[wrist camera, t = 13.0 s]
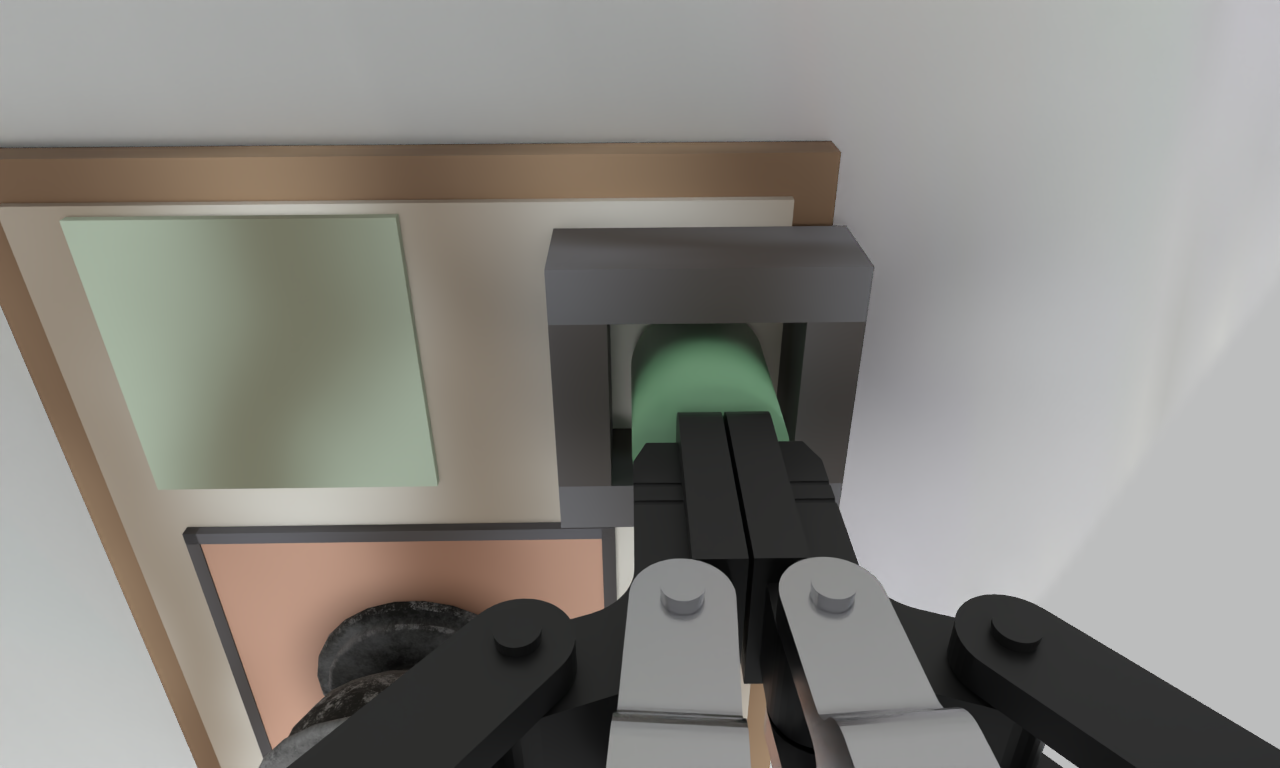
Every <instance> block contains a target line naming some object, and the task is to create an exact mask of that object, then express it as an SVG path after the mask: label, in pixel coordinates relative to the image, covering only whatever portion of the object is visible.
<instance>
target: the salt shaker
mask: <svg viewBox="0 0 1280 768" xmlns="http://www.w3.org/2000/svg"><path fill="white" fill-rule="evenodd" d="M476 616H477V614H475V613H472V612H469V611H466V610H464V609H461V608H458V607H455V606H452V605H446V604H439V603H433V602H427V601H406V602H392V603H387V604H383V605H379V606H375V607H371V608H367V609H365V610H363V611H361V612H359V613H357V614H355V615H353V616H351V617H349V618H347V619H345V620H344V621H343V622H342V623H341V624H340V625H339V626H338V627H337V628H336V629H335V630H334V631H333V632H331V633H330V634H329V636H328V638H327V640H326V642H325V644H324V646H323V648H322V650H321V652H320V654H319V657H318V673H317V676H318V679H319V683H320V686H321V689H322V692H323V695H324V696H325V697H323V698H322V699H321V700H320V701H319V702H318V703H317V704H316V705H315V706H314V707H313V708H312V709H311V710H310V711H309V712H308V713H307V714H306V715H305V716H304V717H303V718H302V719H301V720H300V721H299V722H298V723H297V724H296V725H295V726H294V727H293V728H292V730H291V732H290V734H289V736H288V737H287V738H285V739H284V740H282V741H281V742H280V743H279V744H278V745H277V746H276V747H275V748H273V749H272V750H271V751H270V752H269V753H268V754H267V755H266V756H265V757H264V758H263V760H262V762H261V764H260V766H259V768H287V767H288V766H289V765H290V764H292V763H293V762H294V761H295V760H297V759H298V758H299V757H300V756H302V755H303V754H304V753H305V752H307V751H308V750H309V749H311V748H312V747H313V746H314V745H316V744H317V743H318V742H319V741H321V740H322V739H323V738H324V737H326V736H327V735H328V734H329V733H331V732H332V731H333V730H334V729H336V728H337V727H338V726H339V725H341V724H342V723H343V722H344V721H346V720H347V719H348V718H349V717H351V716H352V715H353V714H354V713H356V712H357V711H358V710H359V709H361V708H362V707H363V706H364V705H366V704H367V703H368V702H369V701H371V700H372V699H373V698H374V697H376V696H377V695H378V694H379V693H381V692H382V691H383V690H385V689H386V688H387V687H388V686H390V685H391V684H392V683H393V682H395V681H396V680H397V679H398V678H400V677H401V676H402V675H403V674H405V673H406V672H407V671H408V670H410V669H411V668H412V667H413V666H415V665H416V664H417V663H418V662H420V661H421V660H422V659H423V658H425V657H426V656H427V655H428V654H430V653H431V652H432V651H433V650H435V649H436V648H437V647H438V646H440V645H441V644H442V643H443V642H445V641H446V640H447V639H448V638H450V637H451V636H452V635H453V634H455V633H456V632H457V631H459V630H460V629H461V628H462V627H464V626H465V625H466V624H467V623H469V622H470V621H471V620H472V619H474V618H475V617H476Z"/></svg>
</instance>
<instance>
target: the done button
mask: <svg viewBox="0 0 1280 768" xmlns="http://www.w3.org/2000/svg"><path fill="white" fill-rule="evenodd" d="M631 405H632V460H633V461H634V460H635V458H636V457H637V455H638V454H639V452H640V451H641V449H642V448H643V446H644V445H645V444H646V443H676V418H677V412H721V413H722V416H723V415H724V412H739V411H769V412H770V414H771V417H772V421H773V424H774V428H775V432H776V435H777V439H778V441H789V436H788V432H787V429H786V426H785V423H784V419H783V416H782V413H781V410H780V406H779V403H778V400H777V397H776V393H775V390H774V387H773V384H772V380H771V377H770V374H769V371H768V367H767V364H766V361H765V358H764V354H763V351H762V348H761V345H760V342H759V340H758V338H757V336H756V335H755V333H754V332H753V330H752V329H751V328H750V327H749V326H748V325H747V324H746V323H706V324H651V325H650V326H649V327H648V328H647V329H646V330H645V331H644V333H643V334H642V335H641V337H640V338H639V340H638V342H637V344H636V346H635V349H634V351H633V355H632V360H631Z"/></svg>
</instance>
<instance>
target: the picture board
mask: <svg viewBox="0 0 1280 768" xmlns="http://www.w3.org/2000/svg"><path fill="white" fill-rule="evenodd" d="M840 157H841V152H840V151H839V149H838V148H837V147H836V146H835V145H834V144H833V143H832V141H801V142H679V143H557V144H434V145H312V146H189V147H67V148H0V305H1V308H2V310H3V312H4V315H5V317H6V319H7V322H8V324H9V326H10V329H11V331H12V333H13V336H14V338H15V340H16V343H17V345H18V347H19V350H20V352H21V354H22V357H23V359H24V362H25V364H26V366H27V369H28V371H29V373H30V376H31V378H32V380H33V383H34V385H35V387H36V390H37V392H38V394H39V397H40V399H41V401H42V404H43V406H44V408H45V411H46V413H47V415H48V418H49V420H50V422H51V425H52V427H53V430H54V432H55V434H56V437H57V439H58V441H59V444H60V446H61V448H62V451H63V453H64V455H65V458H66V460H67V462H68V465H69V467H70V469H71V472H72V474H73V476H74V479H75V481H76V483H77V486H78V488H79V490H80V493H81V495H82V498H83V500H84V502H85V505H86V507H87V509H88V512H89V514H90V516H91V519H92V521H93V523H94V526H95V528H96V530H97V533H98V535H99V537H100V540H101V542H102V544H103V547H104V549H105V551H106V554H107V556H108V558H109V561H110V563H111V566H112V568H113V570H114V573H115V575H116V577H117V580H118V582H119V584H120V587H121V589H122V591H123V594H124V596H125V598H126V601H127V603H128V605H129V608H130V610H131V612H132V615H133V617H134V619H135V622H136V624H137V626H138V629H139V631H140V634H141V636H142V638H143V641H144V643H145V645H146V648H147V650H148V652H149V655H150V657H151V659H152V662H153V664H154V666H155V669H156V671H157V673H158V676H159V678H160V680H161V683H162V685H163V687H164V690H165V692H166V694H167V697H168V699H169V702H170V704H171V706H172V709H173V711H174V713H175V716H176V718H177V720H178V723H179V725H180V727H181V730H182V732H183V734H184V737H185V739H186V741H187V744H188V746H189V748H190V751H191V753H192V755H193V758H194V760H195V762H196V765H197V767H198V768H259V766H260V764H261V762H262V760H263V758H264V757H265V756H266V755H267V754H268V753H269V752H270V751H271V750H272V749H273V748H275V747H276V746H277V745H278V744H279V743H280V742H281V741H282V740H284V739H285V738H287V737H288V736H289V734H290V732H291V730H292V728H293V727H294V726H295V725H296V724H297V723H298V722H299V721H300V720H301V719H302V718H303V717H304V716H305V715H306V714H307V713H308V712H309V711H310V710H311V709H312V708H313V707H314V706H315V705H316V704H317V703H318V702H319V701H320V700H321V699H322V698H323V697H325V696H324V695H323V692H322V689H321V686H320V683H319V679H318V676H317V673H318V657H319V654H320V652H321V650H322V648H323V646H324V644H325V642H326V640H327V638H328V636H329V634H330V633H331V632H333V631H334V630H335V629H336V628H337V627H338V626H339V625H340V624H341V623H342V622H343V621H344V620H345V619H347V618H349V617H351V616H353V615H355V614H357V613H359V612H361V611H363V610H365V609H367V608H371V607H375V606H379V605H383V604H387V603H392V602H406V601H427V602H433V603H439V604H446V605H452V606H455V607H458V608H461V609H464V610H466V611H469V612H472V613H475V614H477V615H479V614H480V613H481V612H483V611H484V610H486V609H487V608H489V607H491V606H493V605H496V604H498V603H501V602H504V601H508V600H513V599H537V600H542V601H545V602H549V603H551V604H553V605H555V606H557V607H558V608H560V609H561V610H562V611H564V612H565V613H566V614H567V616H568V617H569V618H570V619H573V618H577V617H580V616H584V615H587V614H591V613H594V612H597V611H600V610H602V609H604V608H606V607H608V606H609V605H611V604H612V603H614V602H616V601H617V600H618V599H619V598H620V597H621V596H622V595H623V594H624V593H625V592H626V591H627V589H628V588H629V586H630V584H631V582H632V579H633V576H634V492H633V460H632V405H631V360H632V355H633V351H634V349H635V346H636V344H637V342H638V340H639V338H640V337H641V335H642V334H643V333H644V331H645V330H646V329H647V328H648V327H649V326H650V325H651V324H706V323H746V324H747V325H748V326H749V327H750V328H751V329H752V330H753V332H754V333H755V335H756V336H757V338H758V340H759V342H760V345H761V348H762V351H763V354H764V358H765V361H766V364H767V367H768V371H769V374H770V377H771V380H772V384H773V387H774V390H775V393H776V397H777V400H778V403H779V406H780V410H781V413H782V416H783V419H784V423H785V426H786V429H787V432H788V436H789V441H803V442H804V443H805V444H806V445H807V446H808V447H809V448H810V449H811V450H812V451H813V452H814V453H815V454H817V455H818V456H819V457H820V458H821V459H822V462H823V464H824V467H825V470H826V473H827V476H828V479H829V485H831V487H832V490H833V493H834V496H835V503H837V504H838V507H839V504H840V497H841V490H842V483H843V476H844V470H845V463H846V456H847V449H848V442H849V435H850V428H851V422H852V415H853V408H854V401H855V394H856V387H857V381H858V374H859V367H860V360H861V353H862V346H863V339H864V333H865V326H866V319H867V312H868V305H869V298H870V292H871V285H872V278H873V271H874V266H873V264H872V263H871V261H870V260H869V258H868V257H867V256H866V254H865V253H864V251H863V250H862V248H861V247H860V245H859V244H858V242H857V241H856V240H855V238H854V237H853V235H852V234H851V232H850V231H849V229H848V228H847V226H833V217H834V208H835V200H836V191H837V182H838V174H839V165H840ZM740 676H741V695H742V712H743V718H746V719H747V722H748V730H749V743H750V760H751V768H770V755H769V751H768V747H767V743H766V740H765V735H764V720H765V711H766V698H765V693H764V687H763V684H744V682H743V675H742V668H741V664H740Z"/></svg>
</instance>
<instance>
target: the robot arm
mask: <svg viewBox="0 0 1280 768" xmlns="http://www.w3.org/2000/svg"><path fill="white" fill-rule="evenodd" d="M633 492H634V576H633V579H632V582H631V584H630V586H629V588H628V589H627V591H626V592H625V593H624V594H623V595H622V596H621V597H620V598H619V599H618V600H617V601H616V602H614V603H612V604H611V605H609V606H608V607H606V608H604V609H602V610H600V611H597V612H594V613H591V614H587V615H584V616H580V617H577V618H573V619H570V618H569V617H568V616H567V614H566V613H565V612H564V611H562V610H561V609H560V608H558V607H557V606H555V605H553V604H551V603H549V602H545V601H542V600H537V599H513V600H508V601H504V602H501V603H498V604H496V605H493V606H491V607H489V608H487V609H486V610H484V611H483V612H481V613H480V614H479V615H477V616H476V617H475V618H474V619H472V620H471V621H470V622H469V623H467V624H466V625H465V626H464V627H462V628H461V629H460V630H459V631H457V632H456V633H455V634H453V635H452V636H451V637H450V638H448V639H447V640H446V641H445V642H443V643H442V644H441V645H440V646H438V647H437V648H436V649H435V650H433V651H432V652H431V653H430V654H428V655H427V656H426V657H425V658H423V659H422V660H421V661H420V662H418V663H417V664H416V665H415V666H413V667H412V668H411V669H410V670H408V671H407V672H406V673H405V674H403V675H402V676H401V677H400V678H398V679H397V680H396V681H395V682H393V683H392V684H391V685H390V686H388V687H387V688H386V689H385V690H383V691H382V692H381V693H379V694H378V695H377V696H376V697H374V698H373V699H372V700H371V701H369V702H368V703H367V704H366V705H364V706H363V707H362V708H361V709H359V710H358V711H357V712H356V713H354V714H353V715H352V716H351V717H349V718H348V719H347V720H346V721H344V722H343V723H342V724H341V725H339V726H338V727H337V728H336V729H334V730H333V731H332V732H331V733H329V734H328V735H327V736H326V737H324V738H323V739H322V740H321V741H319V742H318V743H317V744H316V745H314V746H313V747H312V748H311V749H309V750H308V751H307V752H305V753H304V754H303V755H302V756H300V757H299V758H298V759H297V760H295V761H294V762H293V763H292V764H290V765H289V766H288V767H287V768H751V760H750V743H749V730H748V722H747V719H746V718H743V712H742V695H741V676H740V664H741V668H742V675H743V682H744V684H763V687H764V693H765V698H766V711H765V720H764V735H765V740H766V743H767V747H768V751H769V755H770V759H771V763H772V767H773V768H1063V767H1061V766H1060V765H1058V764H1057V763H1055V762H1054V761H1053V760H1051V759H1050V758H1048V757H1047V756H1046V755H1044V754H1043V753H1042V751H1043V748H1044V746H1045V744H1046V745H1048V746H1049V747H1050V748H1052V749H1053V750H1055V751H1056V752H1057V753H1059V754H1060V755H1062V756H1063V757H1065V758H1066V759H1067V760H1069V761H1070V762H1072V763H1073V764H1075V765H1076V766H1077V767H1079V768H1280V750H1279V749H1278V748H1276V747H1274V746H1273V745H1271V744H1269V743H1268V742H1266V741H1264V740H1263V739H1261V738H1259V737H1258V736H1256V735H1254V734H1253V733H1251V732H1249V731H1248V730H1246V729H1244V728H1243V727H1241V726H1239V725H1238V724H1236V723H1234V722H1232V721H1231V720H1229V719H1227V718H1226V717H1224V716H1222V715H1221V714H1219V713H1217V712H1216V711H1214V710H1212V709H1211V708H1209V707H1207V706H1206V705H1204V704H1202V703H1201V702H1199V701H1197V700H1196V699H1194V698H1192V697H1191V696H1189V695H1187V694H1186V693H1184V692H1182V691H1180V690H1179V689H1177V688H1175V687H1174V686H1172V685H1170V684H1169V683H1167V682H1165V681H1164V680H1162V679H1160V678H1159V677H1157V676H1155V675H1154V674H1152V673H1150V672H1149V671H1147V670H1145V669H1144V668H1142V667H1140V666H1139V665H1137V664H1135V663H1134V662H1132V661H1130V660H1129V659H1127V658H1125V657H1124V656H1122V655H1120V654H1119V653H1117V652H1115V651H1113V650H1112V649H1110V648H1108V647H1106V646H1105V645H1103V644H1102V643H1100V642H1098V641H1097V640H1095V639H1093V638H1092V637H1090V636H1088V635H1087V634H1085V633H1083V632H1082V631H1080V630H1078V629H1077V628H1075V627H1073V626H1071V625H1070V624H1068V623H1066V622H1065V621H1063V620H1061V619H1060V618H1058V617H1057V616H1055V615H1053V614H1051V613H1050V612H1048V611H1046V610H1045V609H1043V608H1041V607H1039V606H1037V605H1035V604H1033V603H1031V602H1028V601H1026V600H1023V599H1020V598H1016V597H1012V596H1007V595H996V594H993V595H982V596H977V597H975V598H972V599H970V600H968V601H967V602H965V603H964V604H963V605H962V606H961V607H960V608H959V610H958V611H957V613H956V617H955V618H954V617H950V616H945V615H941V614H937V613H932V612H928V611H924V610H919V609H916V608H912V607H909V606H906V605H903V604H901V603H898V602H896V601H894V600H892V599H890V598H889V597H888V596H887V594H886V591H885V589H884V588H883V586H882V584H881V583H880V582H879V581H878V579H877V578H876V577H875V576H874V575H872V574H871V573H870V572H869V571H867V570H866V569H864V568H863V567H861V566H859V564H858V561H857V559H856V556H855V553H854V550H853V547H852V544H851V541H850V539H849V536H848V533H847V530H846V527H845V524H844V522H843V519H842V516H841V513H840V510H839V507H838V504H837V503H835V496H834V493H833V490H832V487H831V485H829V479H828V476H827V473H826V470H825V467H824V464H823V462H822V459H821V458H820V457H819V456H818V455H817V454H815V453H814V452H813V451H812V450H811V449H810V448H809V447H808V446H807V445H806V444H805V443H804V442H803V441H778V439H777V435H776V432H775V428H774V424H773V421H772V417H771V414H770V412H769V411H739V412H724V415H723V416H722V413H721V412H677V418H676V443H646V444H645V445H644V446H643V448H642V449H641V451H640V452H639V454H638V455H637V457H636V458H635V460H634V461H633Z"/></svg>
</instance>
